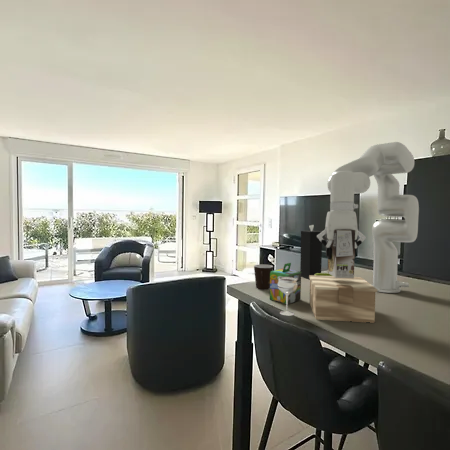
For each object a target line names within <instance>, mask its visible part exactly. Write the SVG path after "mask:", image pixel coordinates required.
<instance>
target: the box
mask: <svg viewBox="0 0 450 450" xmlns="http://www.w3.org/2000/svg"><path fill="white" fill-rule="evenodd" d="M338 293H339V290H323V289H315V288H314V286H313V284H312V282H311V280H310V279H309V305H310V309H311V311H312V314H313V315H314V319H315V320H317V321H318V320H319V321H321V320H322V321H337V322H350V321H352V322H353V323H366V322H370V323H371V324H374V323H375V322H376V321H375V319H376V317H375V316H376V292H367V291H353V304H338ZM370 323H369V324H370Z"/></svg>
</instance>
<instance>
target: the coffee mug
mask: <svg viewBox="0 0 450 450" xmlns="http://www.w3.org/2000/svg"><path fill="white" fill-rule="evenodd" d="M253 271H254V280H255V288H256V289H257V288H258V290H265V291H266V290H270V272H271V271H274V266H273V265H270V264H263V263H262V264H254V265H253Z"/></svg>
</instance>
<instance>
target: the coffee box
mask: <svg viewBox="0 0 450 450" xmlns="http://www.w3.org/2000/svg"><path fill="white" fill-rule="evenodd" d="M355 242H356V240H355V230H347V229H344V230H334V237H333V242H332V243H331V245H330V248H331V259H328V258H327V273H329V274H330V275H332V276H334V277H335V278H354V277H355V258H356V257H355Z"/></svg>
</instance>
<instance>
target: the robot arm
mask: <svg viewBox="0 0 450 450" xmlns="http://www.w3.org/2000/svg"><path fill="white" fill-rule="evenodd" d="M414 168H415V158H414V155H413V153H412V152H411V151H410V149H409V148H408V147H407V146H406V145H405V144H404V143H402V142H400V141H393V142H385V143H379V144H377V143H376V144H374V145H371V146H370V147H368V148H367V149H366V150H365V151H364V153H363V154H362V155H360V157H359V158H357V159H355V160H352V161H350V162H348V163H346V164H343V165H341V166H339V167H338V168H336V169H335V170H334V171H333V172H332V173H331V175H329V178H328V179H327V190H328V191H329V192H330V200H329V201H330V203H329V210H330V211H327V213H326V217H325V226H324V227H325V228H324V230H321V231H322V232H321V233H320V234H318V235H317V238H318V239H319V240H320V241H321V243H322V246H324V247H325V257H326V259H327V260H328V259H331V248H330V245H331V243H332V242H333V237H334V230H344V229H347V230H355V257H354V258H357V249H358V248H359V246H361V244H362V243H363V242H364V241H365V240H366V239H367V236H366V235H364V234H363V233H362V232H361V231H360V230H359V229H358V219H357V213H356V211H354V210H355V209H359V204H357V203H355V194H357V195H358V194H363V193H365V192H368V191H369V189H370V187H371V178H370V177H374V179H375V182H376V183H377V198H376V199H377V201H376V202H377V203H376V209H377V214H378V215H379V216H381V217H393V218H394V217H395V218H404V219H379V220H376V221H375V222H373V224H372V226H371V227H372V237H373V238H372V239H373V270H372V271H373V272H372V275H373V277H372V283H370V284H371V285H372V286H373V287H375V288H376V289H377V293H378V292H380V293H384V294H385V293H387V294H398V293H401V287H402V288H403V287H404V288H409V287H410V283H409V282H403V281H400V280H398V260H399V259H398V258H399V252H398V249H397V247H396V245H395V244H394V242H395V243H396V242H398V243H414V242H415V241H416V239H417V238H418V232H419V213H420V207H419V206H420V205H419V200H418V198H417V197H416V195H413V194H400V186H401V185H400V182H399V180H398V179H397V177H395V175H396V174H407V173H410V172H411V171H413V170H414ZM323 236H324V238H325V239H326V240H325V239H324V238H323ZM358 237H359V238H358Z"/></svg>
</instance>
